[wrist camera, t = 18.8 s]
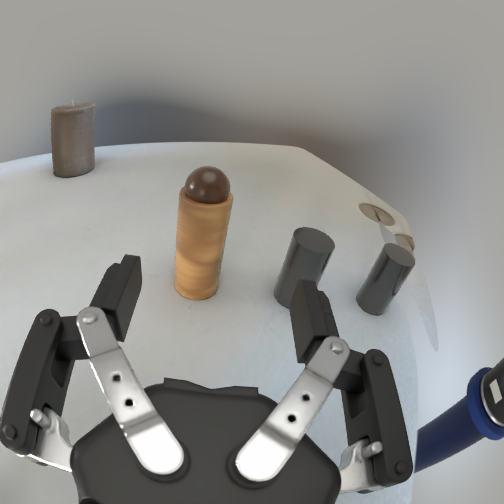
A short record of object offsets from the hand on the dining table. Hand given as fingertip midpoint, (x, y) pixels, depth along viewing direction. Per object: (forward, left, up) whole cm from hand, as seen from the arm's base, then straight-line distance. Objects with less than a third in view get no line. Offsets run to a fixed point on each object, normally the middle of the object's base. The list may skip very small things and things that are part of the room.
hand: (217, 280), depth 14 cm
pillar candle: (+33, -41, -13) cm, 54 cm away
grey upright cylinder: (-9, -13, -13) cm, 20 cm away
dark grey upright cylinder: (-20, -13, -13) cm, 27 cm away
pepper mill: (+2, -13, -13) cm, 18 cm away
